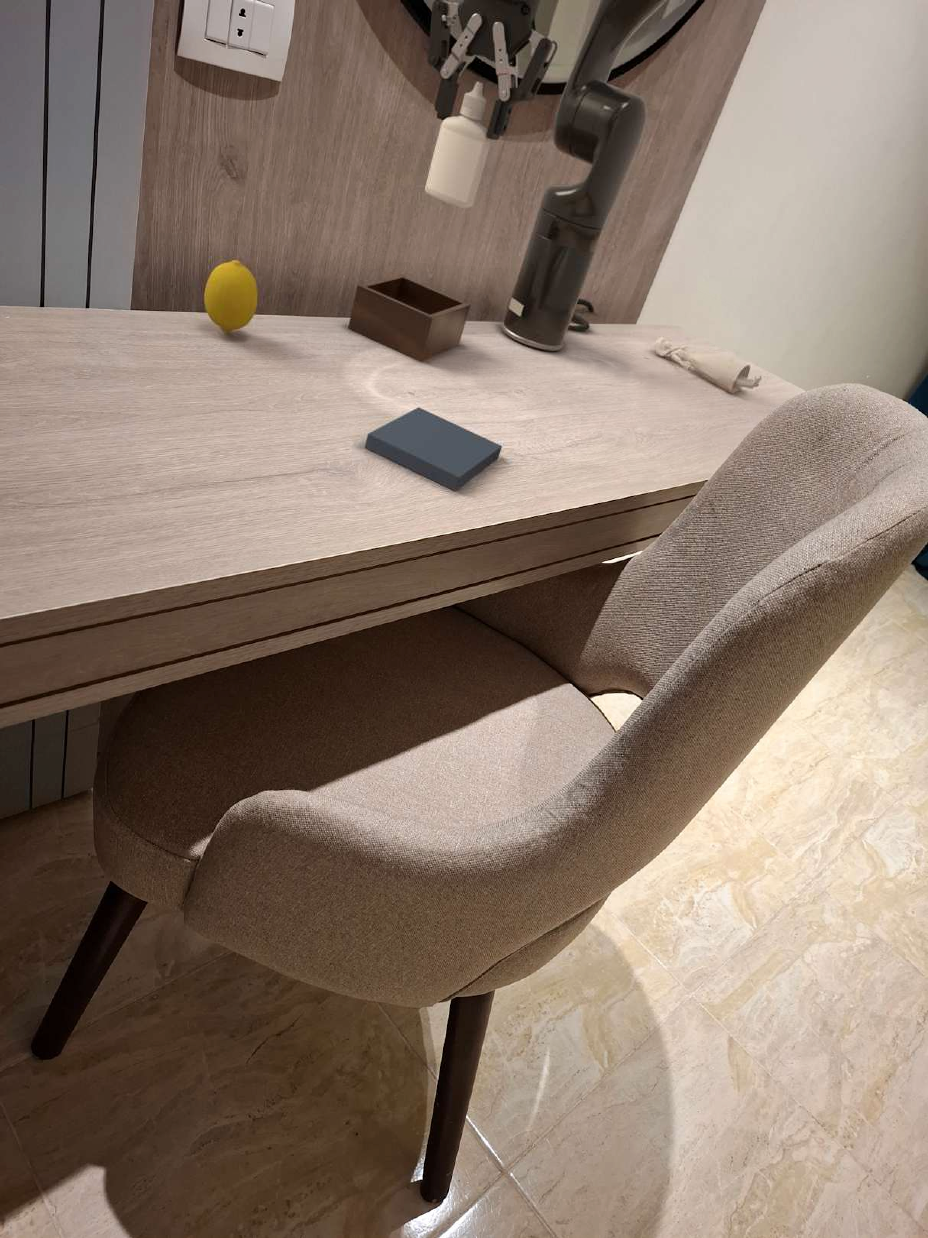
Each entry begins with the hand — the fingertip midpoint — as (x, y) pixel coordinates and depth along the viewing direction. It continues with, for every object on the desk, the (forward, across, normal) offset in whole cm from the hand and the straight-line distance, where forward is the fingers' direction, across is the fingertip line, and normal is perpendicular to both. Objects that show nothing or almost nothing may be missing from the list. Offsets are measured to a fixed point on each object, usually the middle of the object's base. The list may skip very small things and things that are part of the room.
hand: (467, 128), depth 98 cm
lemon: (+26, +14, +18) cm, 35 cm away
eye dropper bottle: (+8, 0, 0) cm, 8 cm away
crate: (+26, +3, -5) cm, 26 cm away
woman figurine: (+25, -30, -46) cm, 61 cm away
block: (+26, -15, +23) cm, 38 cm away
